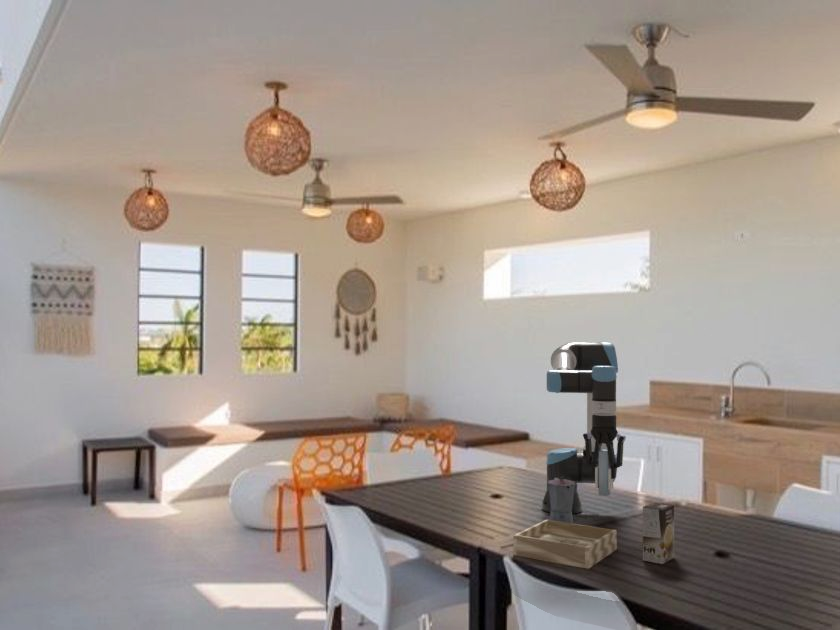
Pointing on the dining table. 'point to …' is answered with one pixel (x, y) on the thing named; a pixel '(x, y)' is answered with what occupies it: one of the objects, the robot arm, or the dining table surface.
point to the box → (565, 543)
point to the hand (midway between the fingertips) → (604, 488)
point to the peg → (603, 472)
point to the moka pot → (561, 499)
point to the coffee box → (658, 532)
